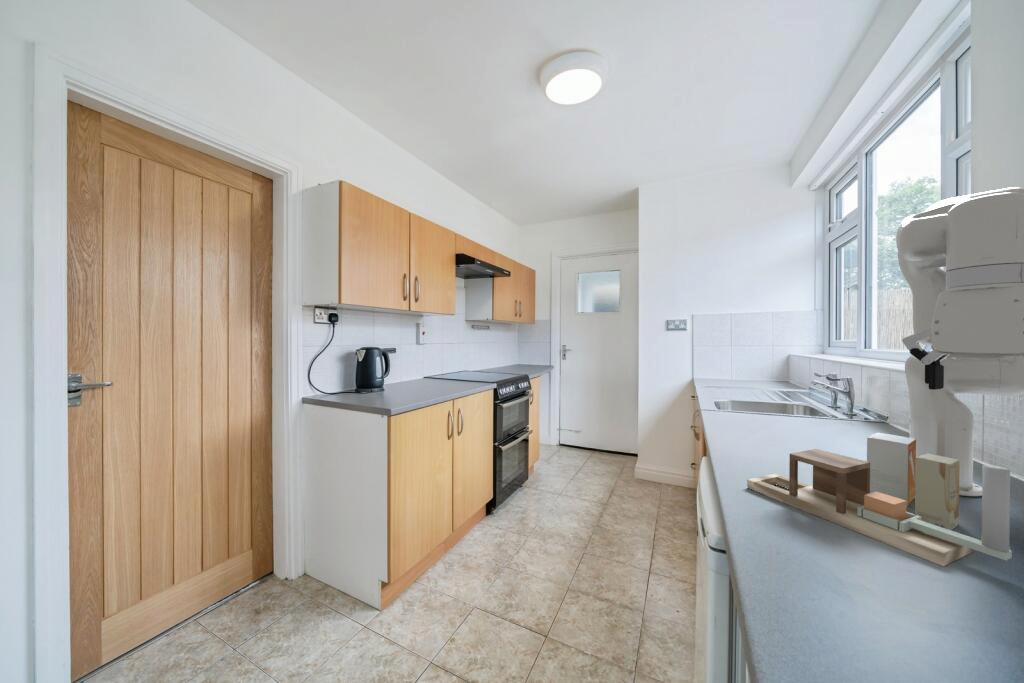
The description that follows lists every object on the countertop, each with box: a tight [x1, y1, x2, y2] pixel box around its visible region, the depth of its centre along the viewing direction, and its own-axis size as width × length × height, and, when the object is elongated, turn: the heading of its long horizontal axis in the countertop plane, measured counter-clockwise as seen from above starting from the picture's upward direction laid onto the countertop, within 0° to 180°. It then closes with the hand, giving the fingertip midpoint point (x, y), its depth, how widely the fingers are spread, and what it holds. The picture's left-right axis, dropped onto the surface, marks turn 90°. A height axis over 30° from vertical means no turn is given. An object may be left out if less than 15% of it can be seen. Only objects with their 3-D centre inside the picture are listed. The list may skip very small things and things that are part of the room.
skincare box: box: [914, 454, 960, 531], centre depth 66 cm, size 6×4×12 cm
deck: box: [746, 473, 974, 567], centre depth 69 cm, size 10×30×2 cm, turn 22°
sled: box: [857, 464, 1013, 561], centre depth 58 cm, size 6×16×13 cm, turn 22°
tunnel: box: [788, 448, 870, 514], centre depth 71 cm, size 9×9×8 cm
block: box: [864, 492, 908, 523], centre depth 63 cm, size 4×4×4 cm
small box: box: [866, 432, 916, 507], centre depth 77 cm, size 8×6×13 cm
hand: (983, 393), depth 53 cm, fingers open, 9 cm apart
